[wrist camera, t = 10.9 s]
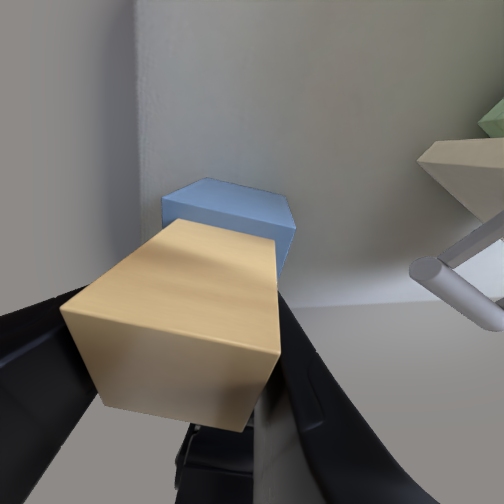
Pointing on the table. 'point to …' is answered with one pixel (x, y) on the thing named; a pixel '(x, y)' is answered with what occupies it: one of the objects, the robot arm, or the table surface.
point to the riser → (234, 212)
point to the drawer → (479, 204)
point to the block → (183, 326)
